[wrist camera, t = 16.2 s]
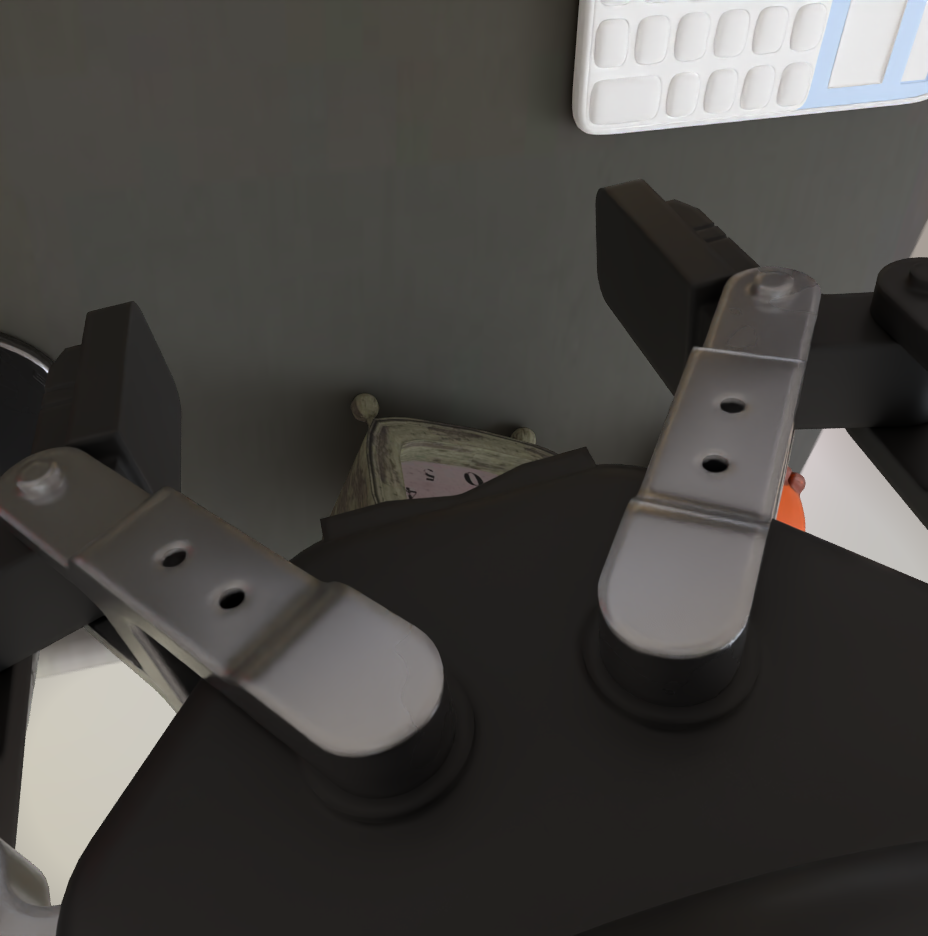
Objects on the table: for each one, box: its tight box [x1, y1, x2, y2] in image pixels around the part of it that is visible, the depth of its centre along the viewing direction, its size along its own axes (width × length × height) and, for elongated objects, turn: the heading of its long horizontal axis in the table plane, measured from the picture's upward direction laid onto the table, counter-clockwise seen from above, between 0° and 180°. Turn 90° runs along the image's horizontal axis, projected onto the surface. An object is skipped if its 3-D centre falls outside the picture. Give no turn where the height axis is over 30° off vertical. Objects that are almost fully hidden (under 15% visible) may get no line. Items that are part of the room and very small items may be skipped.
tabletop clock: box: [322, 393, 557, 540], centre depth 43 cm, size 14×9×25 cm, turn 66°
